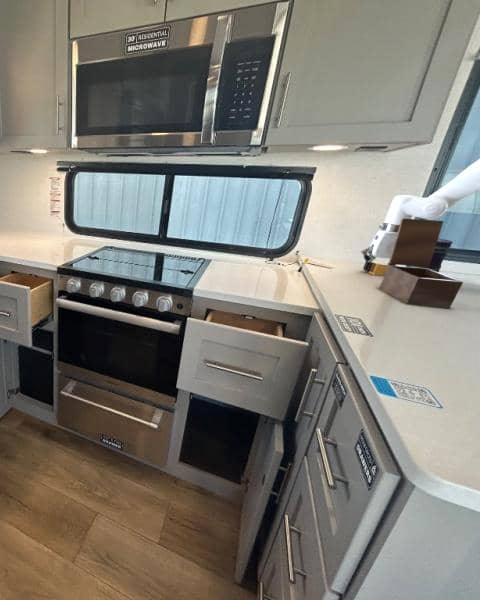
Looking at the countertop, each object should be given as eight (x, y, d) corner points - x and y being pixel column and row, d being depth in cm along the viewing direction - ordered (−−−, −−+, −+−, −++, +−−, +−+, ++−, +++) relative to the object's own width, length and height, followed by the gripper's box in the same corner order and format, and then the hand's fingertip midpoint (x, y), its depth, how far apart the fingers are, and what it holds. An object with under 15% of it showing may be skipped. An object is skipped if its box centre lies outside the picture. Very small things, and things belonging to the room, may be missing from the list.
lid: (443, 220, 108) (441, 221, 109) (403, 218, 110) (401, 218, 111) (429, 267, 112) (427, 267, 112) (389, 263, 114) (388, 263, 115)
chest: (449, 308, 103) (463, 282, 99) (406, 304, 105) (418, 278, 101) (416, 292, 116) (427, 268, 112) (378, 288, 118) (388, 265, 114)
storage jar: (404, 275, 134) (420, 239, 128) (401, 270, 141) (416, 235, 136) (438, 281, 129) (456, 243, 123) (433, 275, 136) (450, 239, 130)
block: (379, 272, 137) (383, 262, 135) (385, 275, 133) (390, 265, 131) (367, 271, 138) (371, 261, 136) (373, 274, 134) (377, 264, 132)
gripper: (374, 228, 126) (357, 272, 133) (427, 232, 123) (407, 277, 130) (363, 225, 133) (348, 267, 140) (413, 228, 130) (395, 271, 137)
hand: (377, 271), depth 135 cm, fingers open, 7 cm apart
